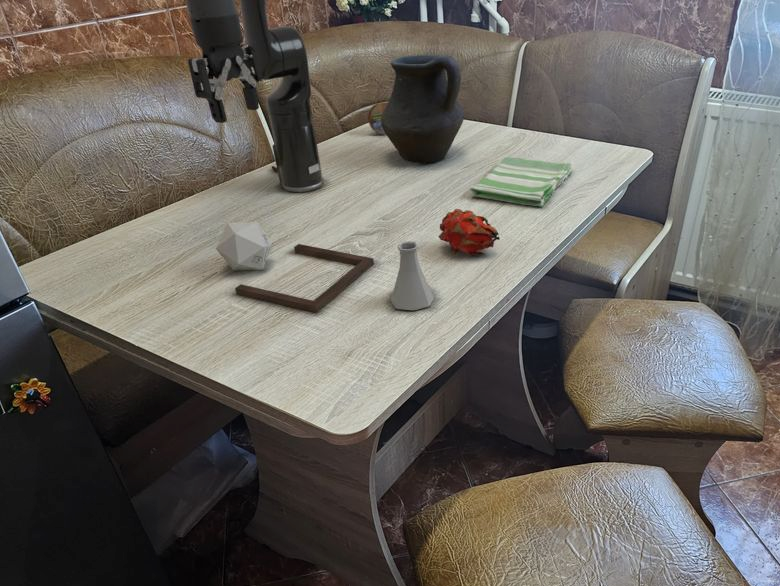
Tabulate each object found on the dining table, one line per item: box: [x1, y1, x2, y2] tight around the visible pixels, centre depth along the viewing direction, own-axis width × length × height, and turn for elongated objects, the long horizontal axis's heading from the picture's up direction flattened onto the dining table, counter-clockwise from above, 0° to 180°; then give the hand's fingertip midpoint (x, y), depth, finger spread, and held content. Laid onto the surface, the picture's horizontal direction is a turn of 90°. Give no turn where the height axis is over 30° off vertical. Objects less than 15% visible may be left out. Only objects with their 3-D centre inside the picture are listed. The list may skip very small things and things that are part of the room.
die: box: [215, 221, 274, 271], centre depth 113 cm, size 8×9×10 cm
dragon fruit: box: [438, 208, 501, 257], centre depth 116 cm, size 8×8×12 cm
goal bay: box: [234, 243, 375, 314], centre depth 111 cm, size 16×18×1 cm
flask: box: [390, 240, 435, 311], centre depth 101 cm, size 7×7×10 cm
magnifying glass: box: [367, 101, 388, 136], centre depth 178 cm, size 15×3×8 cm, turn 118°
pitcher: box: [381, 54, 465, 164], centre depth 154 cm, size 21×22×25 cm
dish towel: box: [469, 157, 573, 208], centre depth 144 cm, size 18×23×3 cm
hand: (237, 115), depth 111 cm, fingers open, 8 cm apart
